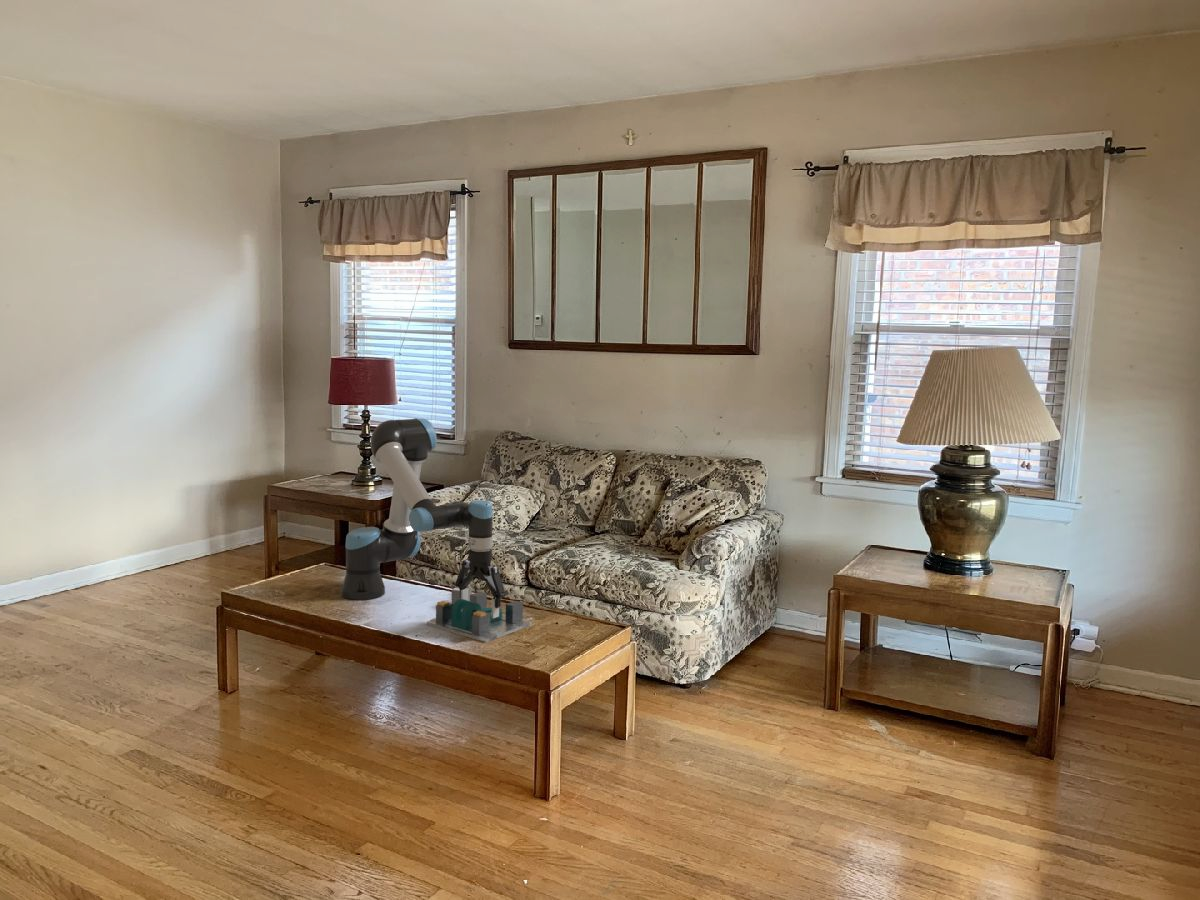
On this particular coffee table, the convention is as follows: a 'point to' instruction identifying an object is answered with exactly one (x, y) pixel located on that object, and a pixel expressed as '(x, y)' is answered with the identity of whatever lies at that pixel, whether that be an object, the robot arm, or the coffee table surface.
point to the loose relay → (457, 594)
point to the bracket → (468, 613)
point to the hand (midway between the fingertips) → (479, 613)
